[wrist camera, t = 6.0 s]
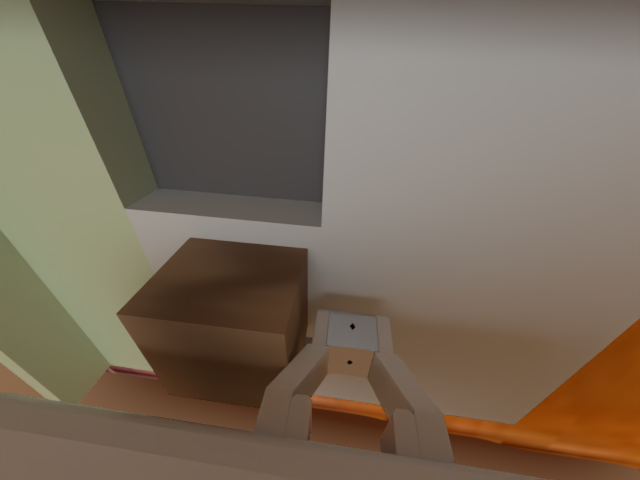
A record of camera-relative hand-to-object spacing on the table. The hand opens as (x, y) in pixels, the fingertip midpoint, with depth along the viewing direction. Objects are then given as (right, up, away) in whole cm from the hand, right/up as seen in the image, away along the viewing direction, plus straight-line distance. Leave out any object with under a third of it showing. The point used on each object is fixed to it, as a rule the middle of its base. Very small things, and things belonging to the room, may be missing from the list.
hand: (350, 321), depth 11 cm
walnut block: (-4, +1, +1) cm, 5 cm away
